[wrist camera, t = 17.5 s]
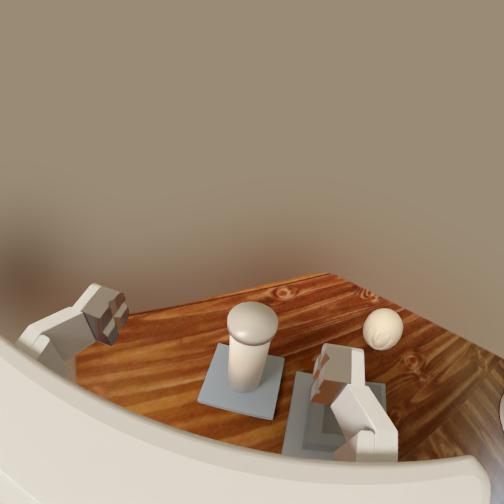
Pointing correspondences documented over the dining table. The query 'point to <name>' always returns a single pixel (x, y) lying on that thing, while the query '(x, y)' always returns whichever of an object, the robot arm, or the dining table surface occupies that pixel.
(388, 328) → the cream rounded ball
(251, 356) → the plug
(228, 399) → the mat
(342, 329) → the dining table surface
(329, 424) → the socket collar
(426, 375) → the dining table surface
